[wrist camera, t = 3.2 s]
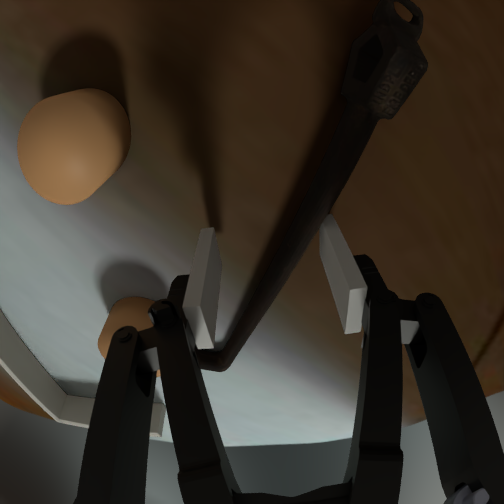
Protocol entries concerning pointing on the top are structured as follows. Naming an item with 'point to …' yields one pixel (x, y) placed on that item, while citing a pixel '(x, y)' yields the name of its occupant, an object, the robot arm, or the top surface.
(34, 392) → the chip tray
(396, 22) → the black hooked stick
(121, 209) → the top surface
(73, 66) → the top surface
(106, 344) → the puck
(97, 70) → the top surface
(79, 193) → the puck
